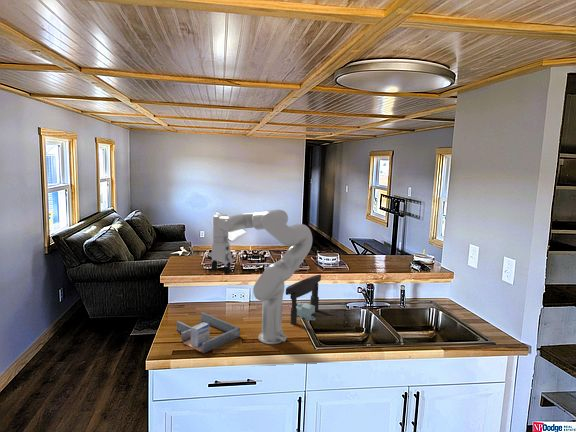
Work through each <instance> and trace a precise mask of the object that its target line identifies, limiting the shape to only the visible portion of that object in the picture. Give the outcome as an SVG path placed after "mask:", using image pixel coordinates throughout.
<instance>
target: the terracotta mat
mask: <svg viewBox="0 0 576 432" xmlns="http://www.w3.org/2000/svg"><path fill="white" fill-rule="evenodd" d="M182 343H183V344H184V345H186V346H188V347H190V348H192V349H194V350H196V351H198V352H200V353H202V345H201V346H199V347H196V346H193V345H191V339H190V340H187V341H185V342H182Z"/></svg>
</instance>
